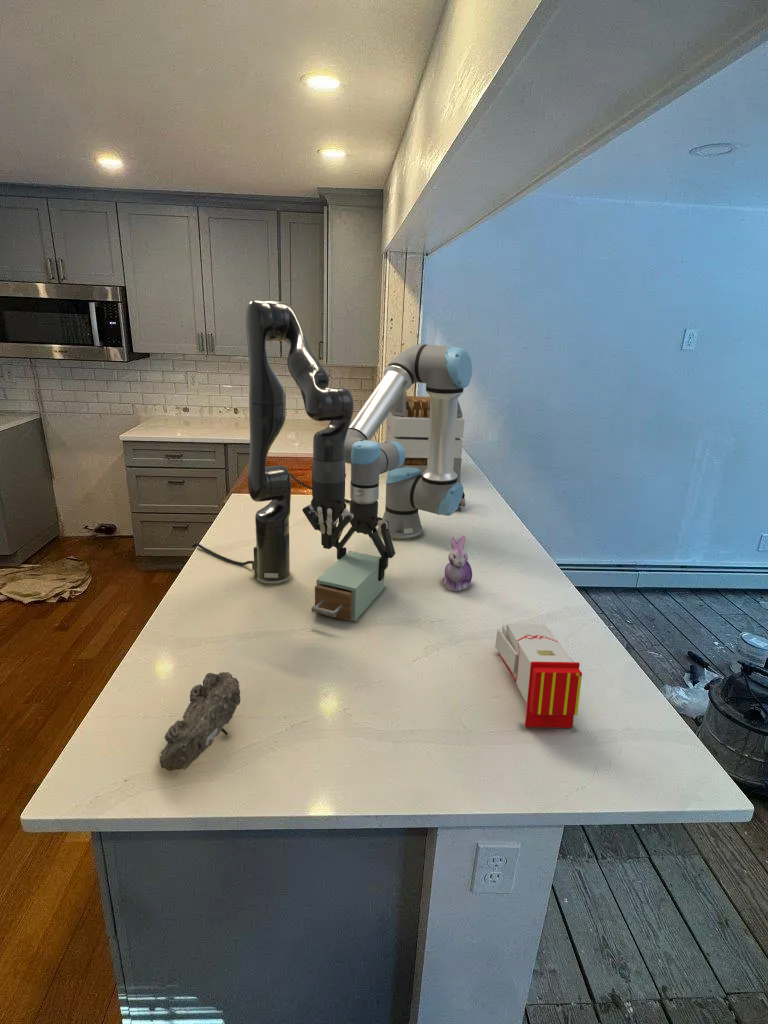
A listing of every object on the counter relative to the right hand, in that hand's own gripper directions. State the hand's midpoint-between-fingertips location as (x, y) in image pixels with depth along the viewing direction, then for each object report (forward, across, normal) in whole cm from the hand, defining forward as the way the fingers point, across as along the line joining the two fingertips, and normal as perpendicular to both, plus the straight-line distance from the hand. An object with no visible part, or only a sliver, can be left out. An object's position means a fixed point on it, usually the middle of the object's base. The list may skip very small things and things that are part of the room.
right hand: (361, 574), depth 158 cm
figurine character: (+5, +6, +82) cm, 83 cm away
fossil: (+5, -3, -64) cm, 64 cm away
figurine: (+5, +24, +15) cm, 29 cm away
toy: (+5, +50, -24) cm, 56 cm away
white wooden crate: (+5, -23, +123) cm, 125 cm away
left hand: (-16, 0, -21) cm, 27 cm away
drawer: (+4, 0, -12) cm, 12 cm away
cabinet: (+5, 0, -6) cm, 8 cm away
